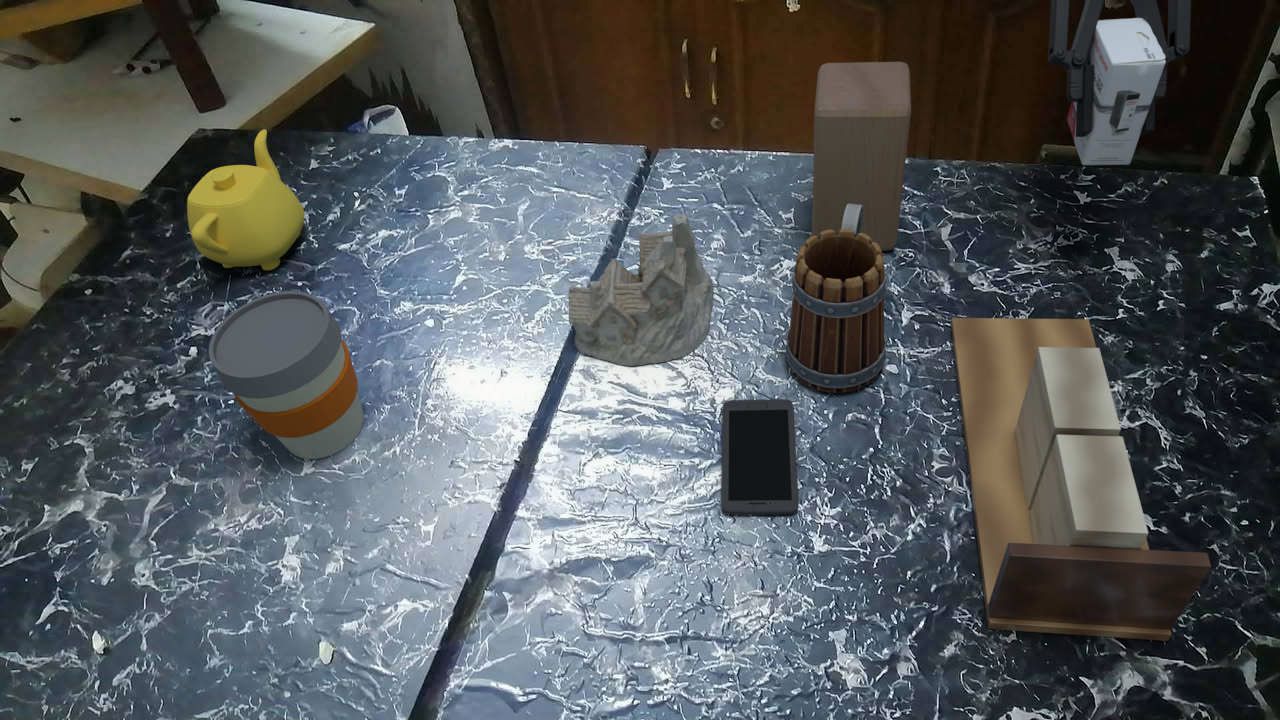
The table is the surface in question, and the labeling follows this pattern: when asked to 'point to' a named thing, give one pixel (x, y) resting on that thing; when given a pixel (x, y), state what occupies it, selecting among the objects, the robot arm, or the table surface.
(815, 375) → the mug
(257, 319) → the reusable coffee cup
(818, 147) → the wooden block
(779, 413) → the cell phone
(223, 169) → the teapot
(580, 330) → the ceramic cottage
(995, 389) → the shelf
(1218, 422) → the table surface
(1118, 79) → the ink box
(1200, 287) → the table surface
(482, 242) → the table surface
